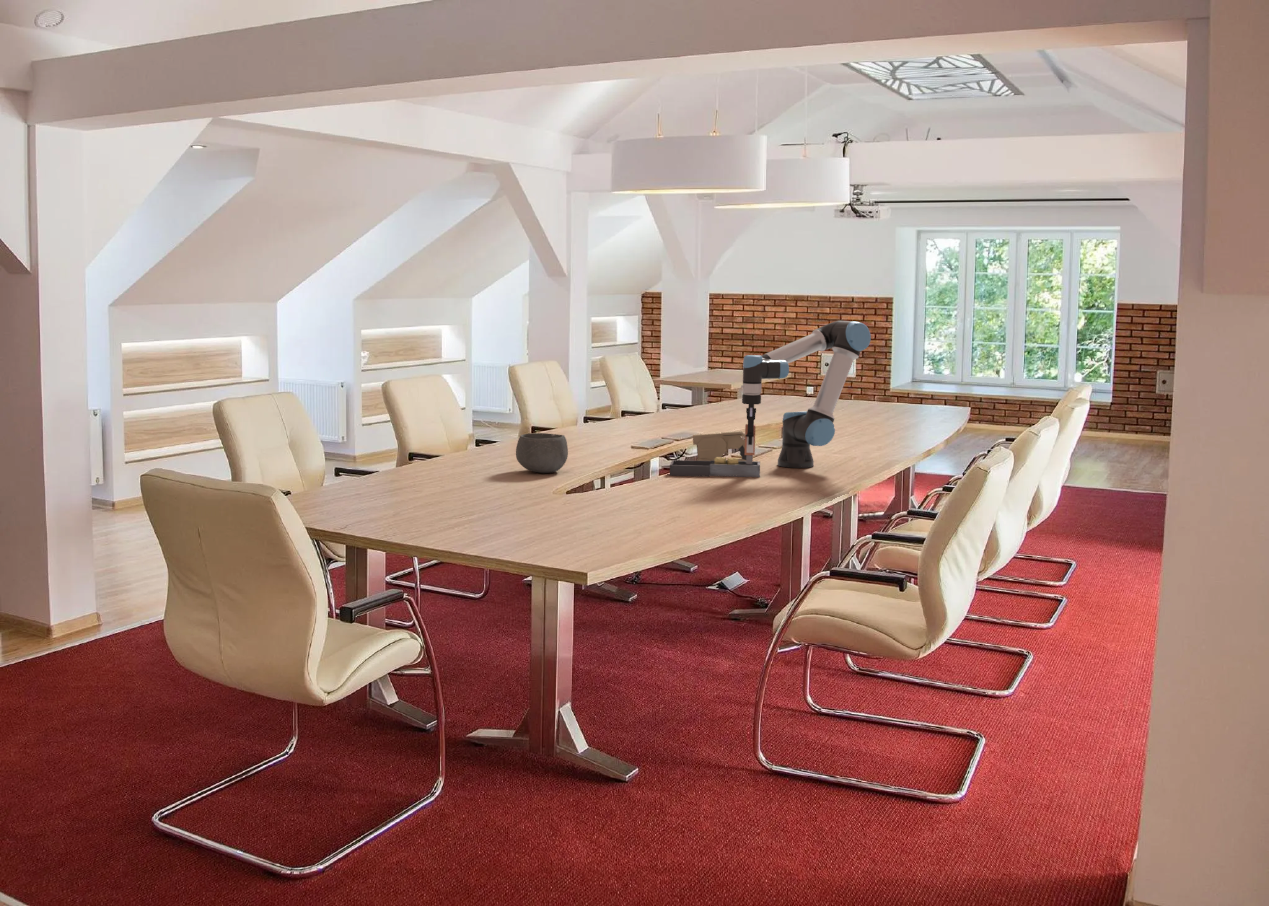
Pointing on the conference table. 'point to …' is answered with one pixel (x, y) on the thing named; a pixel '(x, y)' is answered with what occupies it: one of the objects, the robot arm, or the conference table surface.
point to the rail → (735, 469)
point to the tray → (690, 468)
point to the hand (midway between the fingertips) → (749, 451)
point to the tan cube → (732, 461)
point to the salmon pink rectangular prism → (748, 455)
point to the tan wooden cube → (720, 460)
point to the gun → (718, 444)
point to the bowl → (542, 452)
